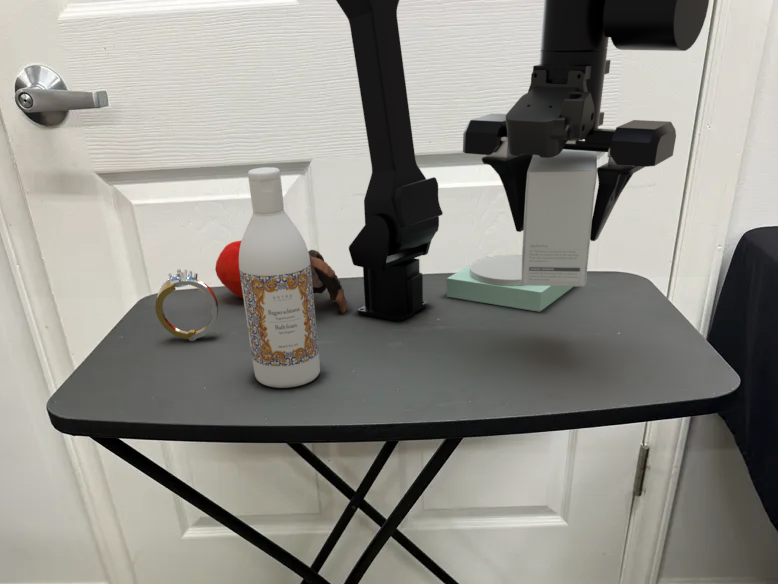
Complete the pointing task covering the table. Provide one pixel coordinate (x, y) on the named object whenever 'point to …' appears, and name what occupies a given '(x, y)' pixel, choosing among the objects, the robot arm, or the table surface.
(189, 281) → the ring
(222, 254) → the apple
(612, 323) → the table surface
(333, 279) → the brown curved piece
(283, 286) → the bath foam
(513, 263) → the scale
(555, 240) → the cosmetics box
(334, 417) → the table surface
